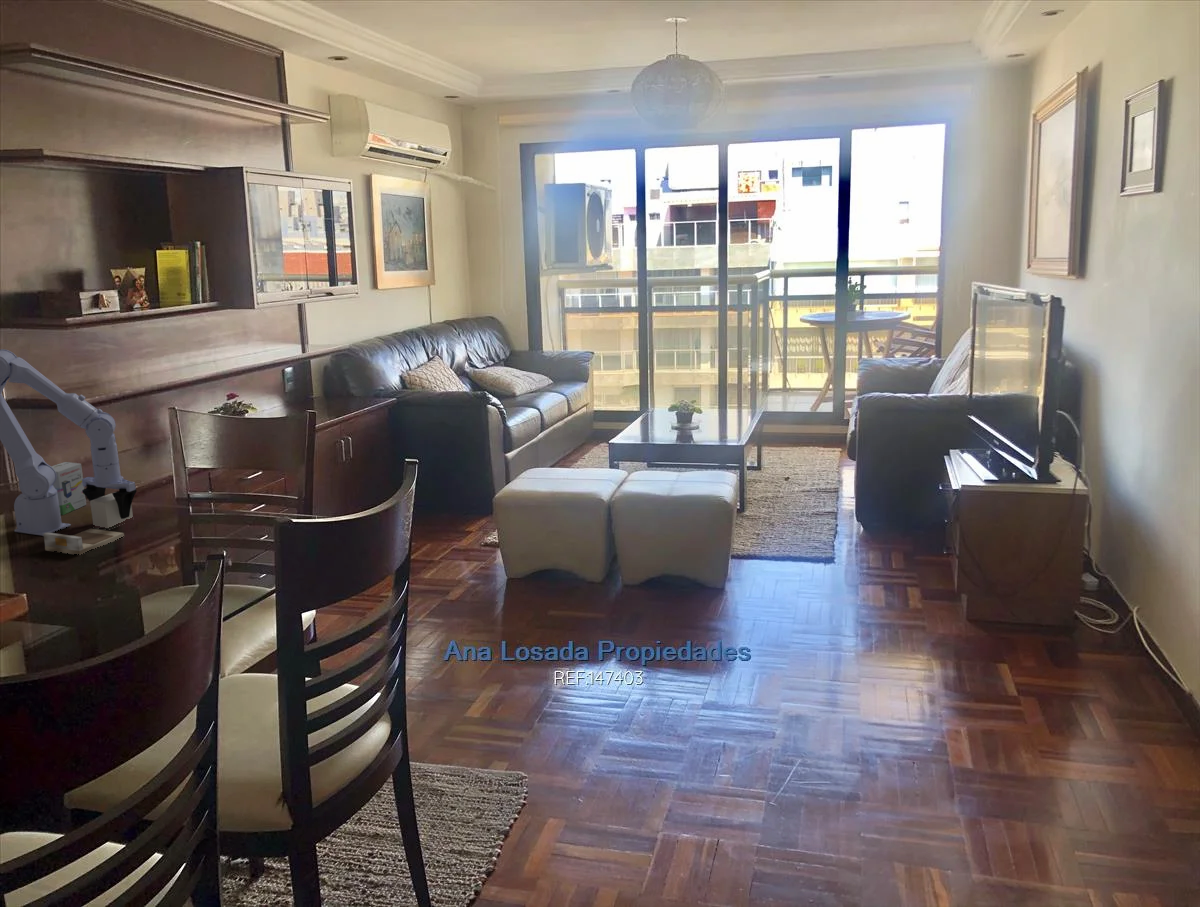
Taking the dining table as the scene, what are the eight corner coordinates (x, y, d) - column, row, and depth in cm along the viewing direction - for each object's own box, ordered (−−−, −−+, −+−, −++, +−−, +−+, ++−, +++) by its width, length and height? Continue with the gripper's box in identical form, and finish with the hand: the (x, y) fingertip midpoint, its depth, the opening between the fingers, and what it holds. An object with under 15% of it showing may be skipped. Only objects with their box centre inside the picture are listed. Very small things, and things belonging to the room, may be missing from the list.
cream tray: (45, 550, 215) (42, 533, 214) (91, 532, 227) (88, 516, 226) (79, 555, 212) (77, 538, 211) (124, 536, 224) (122, 521, 223)
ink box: (70, 504, 249) (64, 461, 246) (87, 505, 248) (81, 462, 245) (46, 514, 241) (39, 469, 238) (63, 515, 240) (57, 471, 237)
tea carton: (93, 527, 231) (89, 500, 229) (118, 518, 238) (115, 491, 236) (108, 530, 229) (104, 502, 228) (133, 520, 237) (130, 493, 235)
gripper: (142, 461, 231) (148, 514, 235) (95, 456, 236) (102, 508, 239) (119, 468, 225) (126, 522, 228) (72, 463, 229) (79, 516, 233)
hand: (112, 516), depth 233 cm, fingers open, 7 cm apart
